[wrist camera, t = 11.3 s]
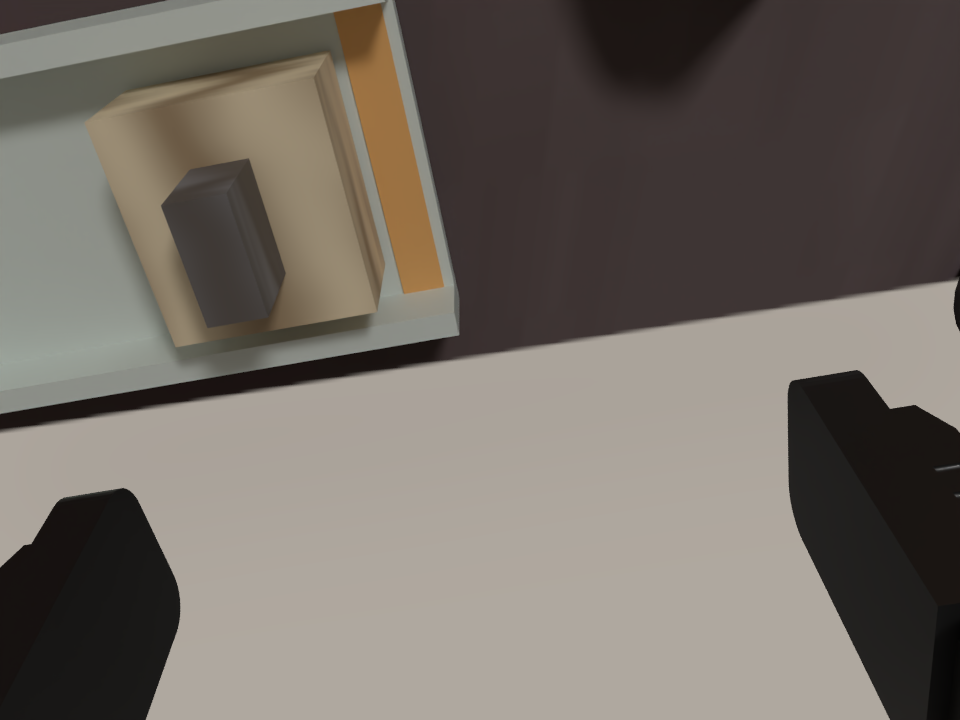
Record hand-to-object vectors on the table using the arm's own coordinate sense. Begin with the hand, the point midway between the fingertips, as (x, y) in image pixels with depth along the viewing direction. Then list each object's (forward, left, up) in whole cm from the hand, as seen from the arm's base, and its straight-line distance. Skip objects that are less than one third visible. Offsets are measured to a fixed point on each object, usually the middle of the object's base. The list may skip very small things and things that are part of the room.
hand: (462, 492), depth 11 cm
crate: (+6, +9, -31) cm, 33 cm away
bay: (+11, +12, -32) cm, 36 cm away
